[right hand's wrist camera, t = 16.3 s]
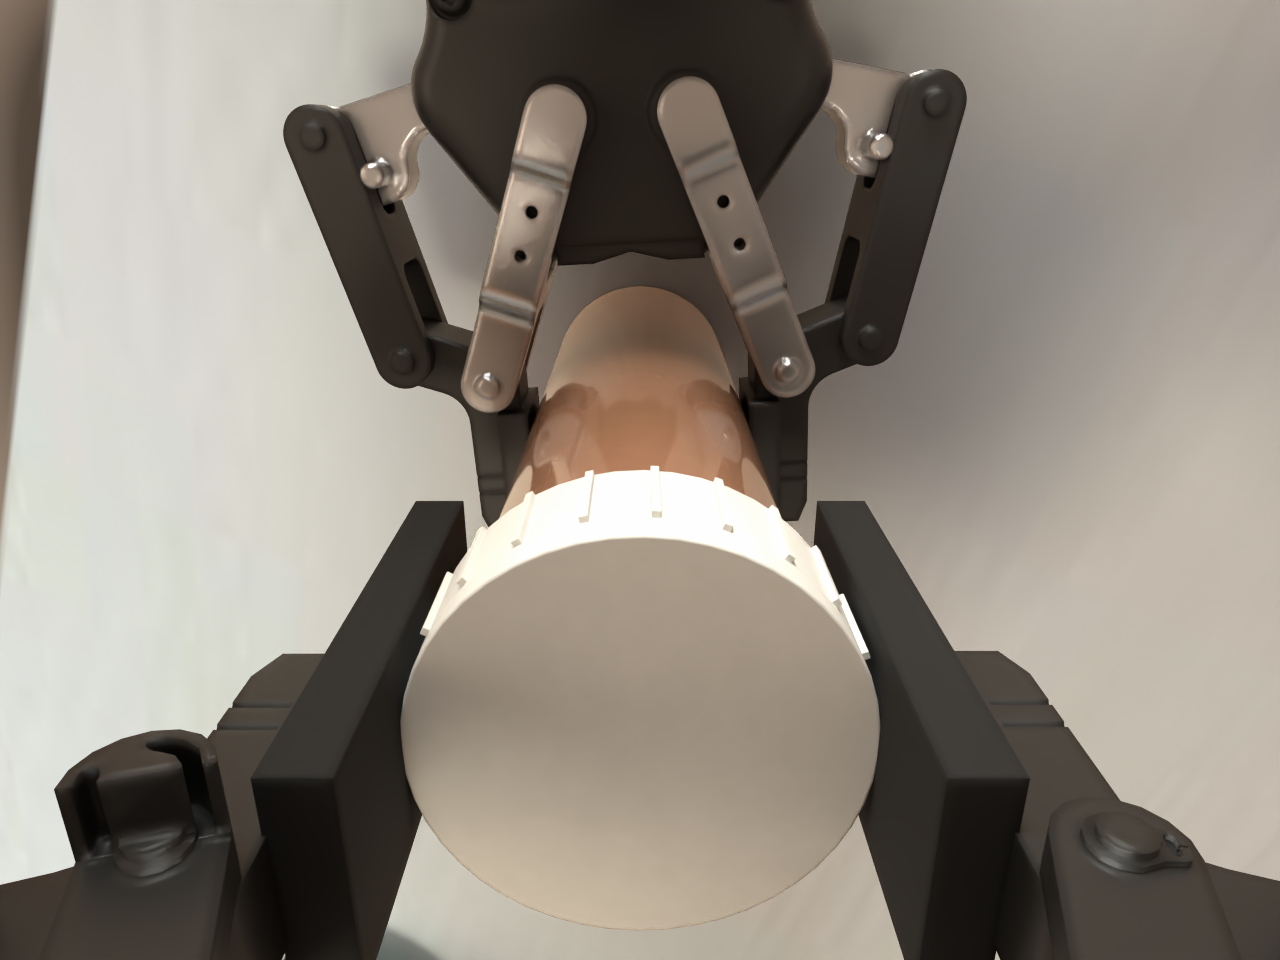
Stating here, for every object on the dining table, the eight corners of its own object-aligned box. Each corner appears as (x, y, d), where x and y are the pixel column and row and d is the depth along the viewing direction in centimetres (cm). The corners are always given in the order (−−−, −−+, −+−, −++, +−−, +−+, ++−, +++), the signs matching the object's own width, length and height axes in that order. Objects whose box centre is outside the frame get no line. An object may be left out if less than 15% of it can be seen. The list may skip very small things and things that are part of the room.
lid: (569, 876, 14) (557, 994, 12) (346, 585, 12) (292, 670, 10) (915, 725, 13) (962, 828, 11) (730, 382, 11) (749, 434, 9)
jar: (600, 256, 26) (536, 470, 10) (750, 330, 27) (918, 640, 11) (533, 403, 28) (383, 793, 12) (676, 469, 29) (723, 920, 12)
